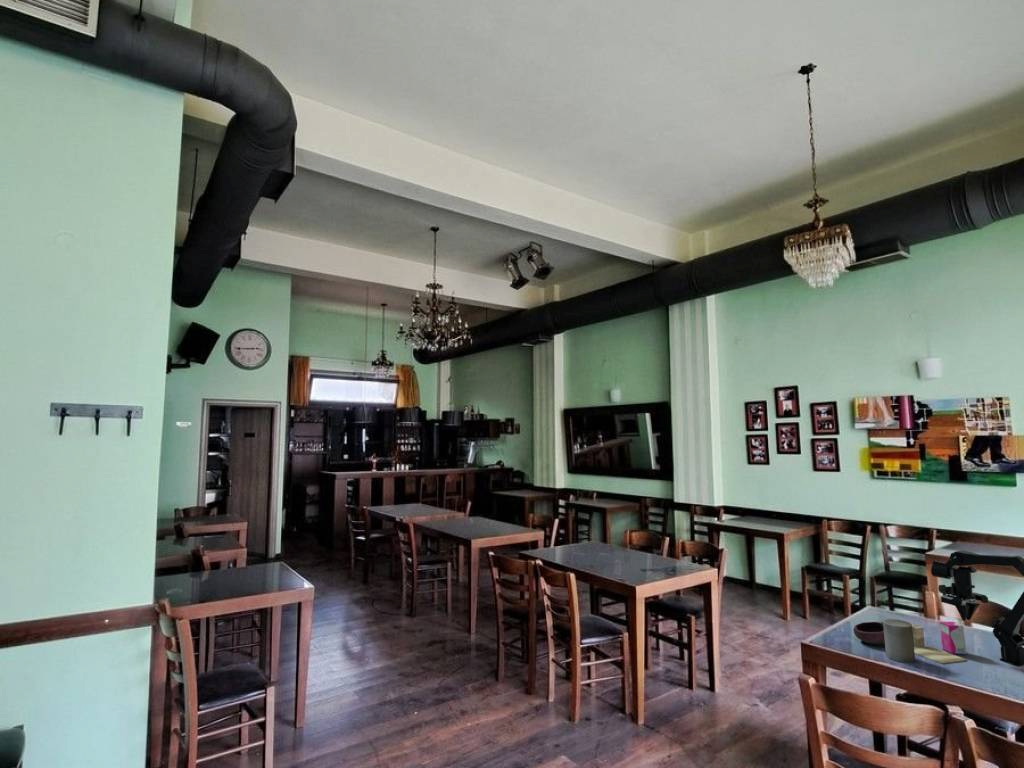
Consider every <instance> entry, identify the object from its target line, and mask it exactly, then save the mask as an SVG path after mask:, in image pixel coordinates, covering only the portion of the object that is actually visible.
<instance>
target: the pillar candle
mask: <svg viewBox="0 0 1024 768" xmlns="http://www.w3.org/2000/svg"><path fill="white" fill-rule="evenodd" d="M882 621H883V626H884V638H885V642H884V647H885V648H884V649H885V656H886V658H889V659H891V660H893V661H895V662H899V663H914V662H916V654H915V653H914V648H915V647H914V641H913V631H912V624H913V623H911V622H909V621H905V620H902V619H895V618H885V619H883V620H882Z"/></svg>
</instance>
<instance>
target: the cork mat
mask: <svg viewBox="0 0 1024 768" xmlns="http://www.w3.org/2000/svg"><path fill="white" fill-rule="evenodd" d="M914 653H915V655H916V656H917V655H918V656H920V657H923V658H925V659H928V660H930V661H933V662H935V663H937V664H941V665H945V664H946V665H947V664H952V663H961V662H968V659H966V658H963V657H961V656H959V655H953V654H950V653H948V652H946V651H944V650H943V649H939V648H937V647H933V646H930V645H928V646H925V647H919V648H916V647H914Z"/></svg>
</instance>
